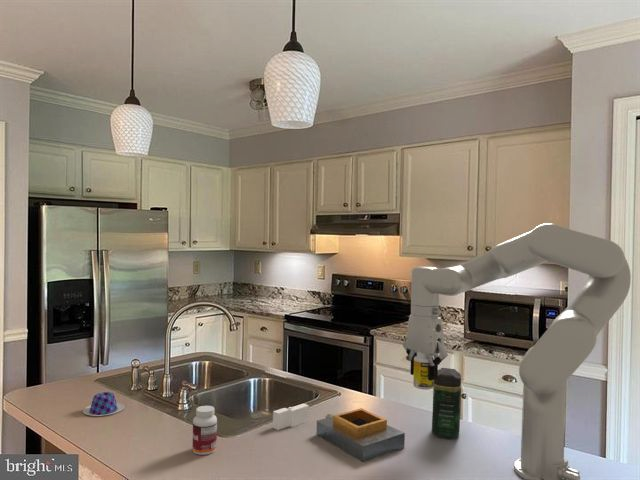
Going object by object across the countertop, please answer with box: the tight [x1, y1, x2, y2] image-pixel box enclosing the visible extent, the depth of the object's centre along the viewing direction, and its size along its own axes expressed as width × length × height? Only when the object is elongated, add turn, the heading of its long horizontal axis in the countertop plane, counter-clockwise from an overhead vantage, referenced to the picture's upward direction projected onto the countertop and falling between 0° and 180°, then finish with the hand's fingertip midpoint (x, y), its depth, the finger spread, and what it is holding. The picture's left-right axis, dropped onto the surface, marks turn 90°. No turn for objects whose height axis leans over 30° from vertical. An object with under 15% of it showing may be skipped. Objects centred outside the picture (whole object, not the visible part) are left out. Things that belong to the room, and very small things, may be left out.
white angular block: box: [272, 403, 310, 431], centre depth 144 cm, size 15×11×6 cm
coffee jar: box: [431, 367, 462, 440], centre depth 141 cm, size 10×8×19 cm
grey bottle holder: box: [315, 407, 406, 463], centre depth 135 cm, size 24×15×6 cm, turn 37°
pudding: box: [82, 391, 125, 417], centre depth 152 cm, size 12×12×5 cm
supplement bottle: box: [413, 352, 434, 391], centre depth 132 cm, size 6×6×10 cm
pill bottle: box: [191, 405, 218, 456], centre depth 125 cm, size 6×6×11 cm
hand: (423, 376), depth 132 cm, fingers closed on supplement bottle, 5 cm apart
